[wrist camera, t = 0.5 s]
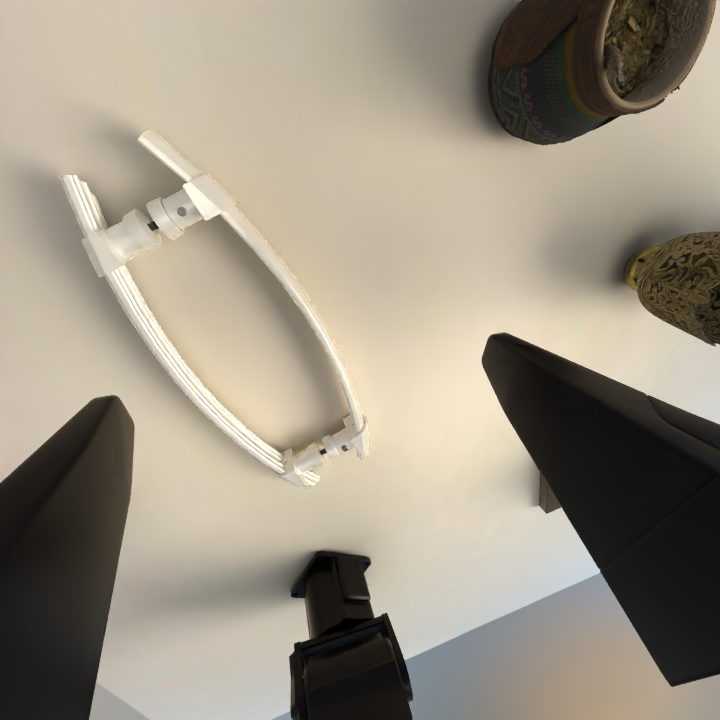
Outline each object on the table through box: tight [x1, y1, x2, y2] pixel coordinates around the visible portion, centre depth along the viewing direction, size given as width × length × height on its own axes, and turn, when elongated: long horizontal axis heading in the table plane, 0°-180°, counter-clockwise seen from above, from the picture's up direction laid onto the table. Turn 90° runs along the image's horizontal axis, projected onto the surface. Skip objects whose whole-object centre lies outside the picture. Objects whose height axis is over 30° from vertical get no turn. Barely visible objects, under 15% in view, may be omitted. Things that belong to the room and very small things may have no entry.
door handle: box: [59, 129, 369, 489], centre depth 23 cm, size 3×10×25 cm
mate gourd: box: [488, 0, 716, 145], centre depth 17 cm, size 7×8×10 cm
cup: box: [625, 232, 720, 346], centre depth 26 cm, size 8×7×8 cm
